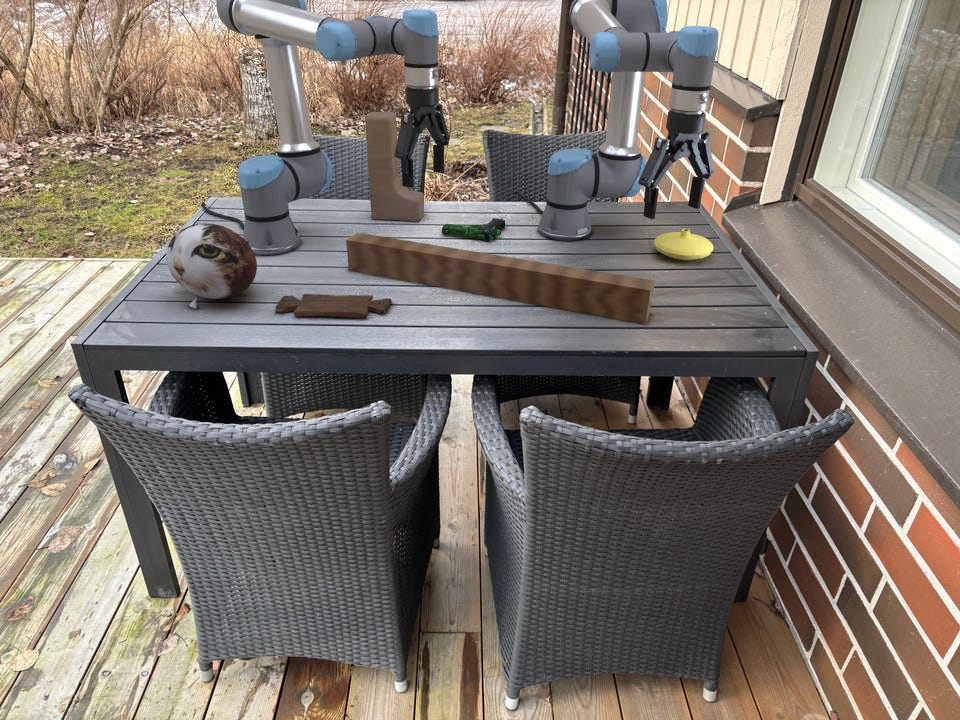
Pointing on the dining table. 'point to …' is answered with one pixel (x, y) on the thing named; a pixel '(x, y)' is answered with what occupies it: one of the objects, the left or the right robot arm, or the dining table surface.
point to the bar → (503, 277)
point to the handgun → (476, 230)
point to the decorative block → (388, 172)
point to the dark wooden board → (333, 305)
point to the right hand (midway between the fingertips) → (671, 212)
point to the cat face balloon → (211, 261)
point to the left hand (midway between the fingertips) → (423, 179)
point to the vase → (683, 245)
